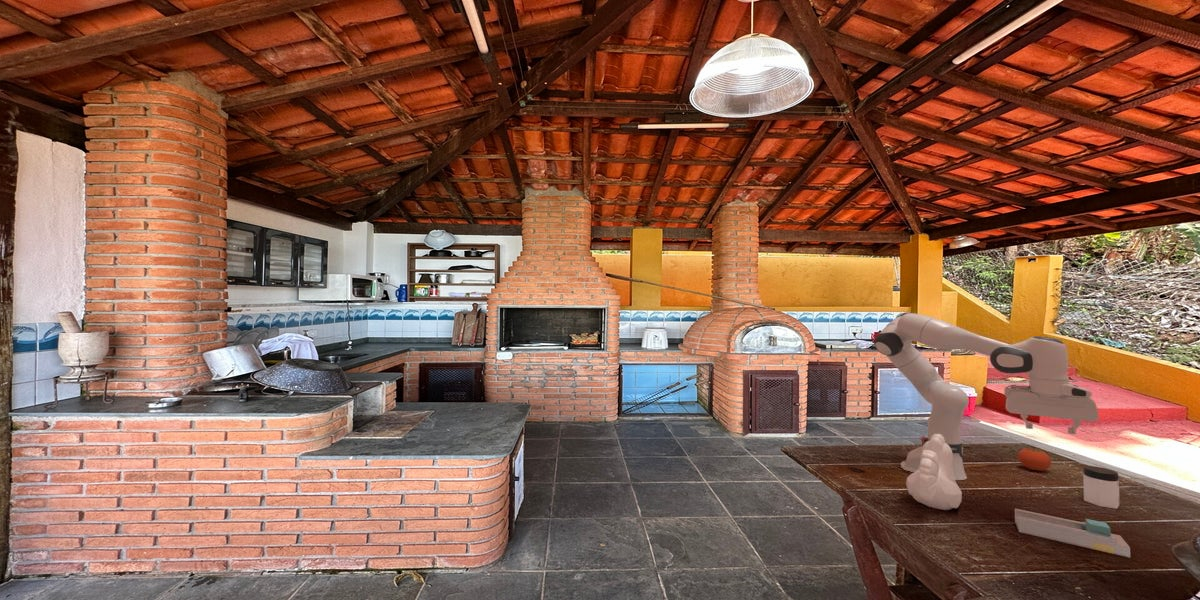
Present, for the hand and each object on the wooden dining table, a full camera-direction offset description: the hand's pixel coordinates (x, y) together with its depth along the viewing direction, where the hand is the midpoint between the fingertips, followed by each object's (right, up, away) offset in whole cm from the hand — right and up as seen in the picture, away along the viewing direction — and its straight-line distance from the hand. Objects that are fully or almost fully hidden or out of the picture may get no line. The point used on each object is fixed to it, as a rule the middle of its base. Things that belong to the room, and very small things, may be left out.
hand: (1050, 431), depth 135 cm
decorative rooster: (-27, -32, +15) cm, 44 cm away
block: (+1, -29, -12) cm, 32 cm away
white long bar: (-3, -31, -8) cm, 32 cm away
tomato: (+47, -33, +50) cm, 76 cm away
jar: (+38, -32, +18) cm, 52 cm away
